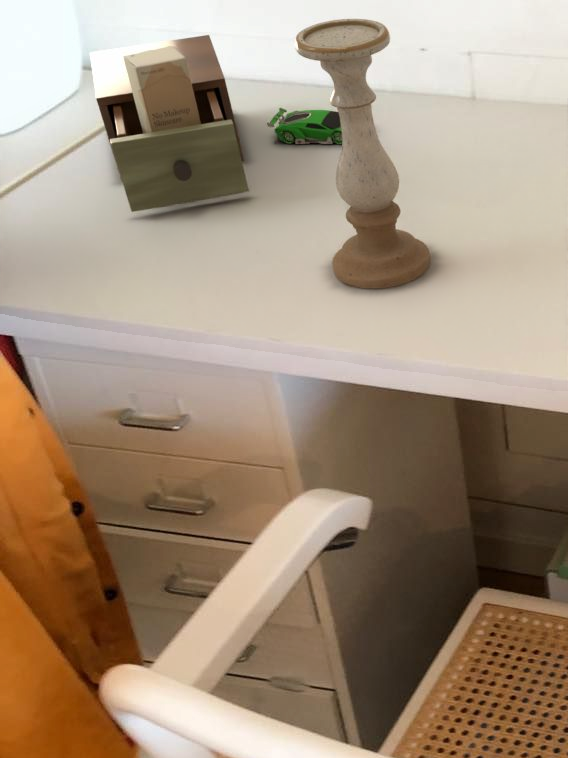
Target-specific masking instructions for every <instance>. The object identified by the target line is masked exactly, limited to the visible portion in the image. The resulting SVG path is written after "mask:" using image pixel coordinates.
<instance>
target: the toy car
mask: <svg viewBox="0 0 568 758" xmlns="http://www.w3.org/2000/svg"><path fill="white" fill-rule="evenodd" d="M278 110H279V111H277V113H276V114H275V115H273V116H272V118H271V120H270V121H269V122H266V126H267V127H268V128H274V133H275V134H276V136H277V139H279V140H280V141H281V142H284V143H285V144H287V145H291V144H293V143H295V145H305V144H307V145H309V144H310V143H312V144H317V143H318V144H321V145H333V144H334V143H335V144H336V145H342V131H341V124H340V117H339V113H338V111H334V110H329V109H328V110H327V109H305V110H304V109H303V110H294V111H291V112H289V113H287V111H288V110H287V109H285V108H283V107H279V108H278ZM284 113H286V115H285V116H284ZM278 121H279V122H278ZM275 124H277V126H276V127H275Z"/></svg>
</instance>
